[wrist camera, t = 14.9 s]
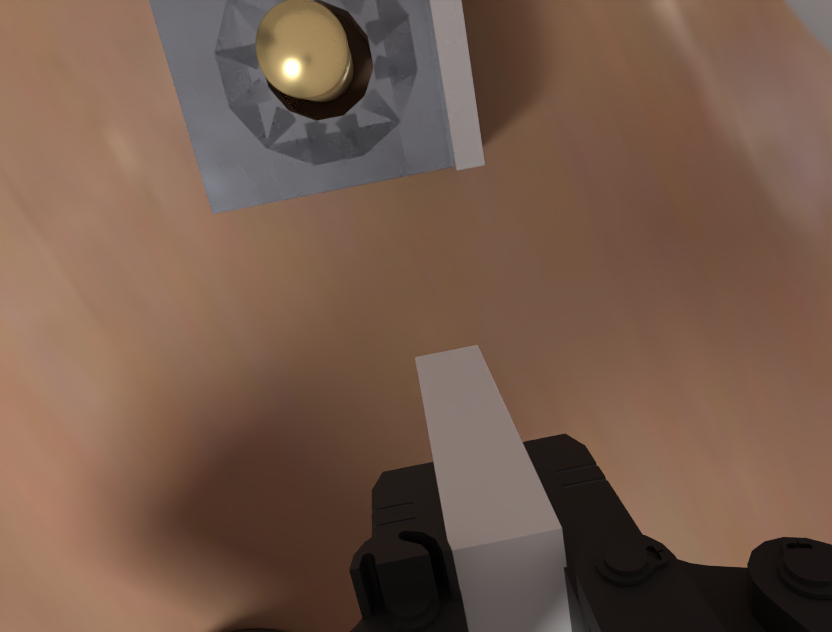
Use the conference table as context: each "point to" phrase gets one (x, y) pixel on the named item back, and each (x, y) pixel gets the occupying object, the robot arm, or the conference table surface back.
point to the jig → (309, 137)
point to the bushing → (304, 51)
